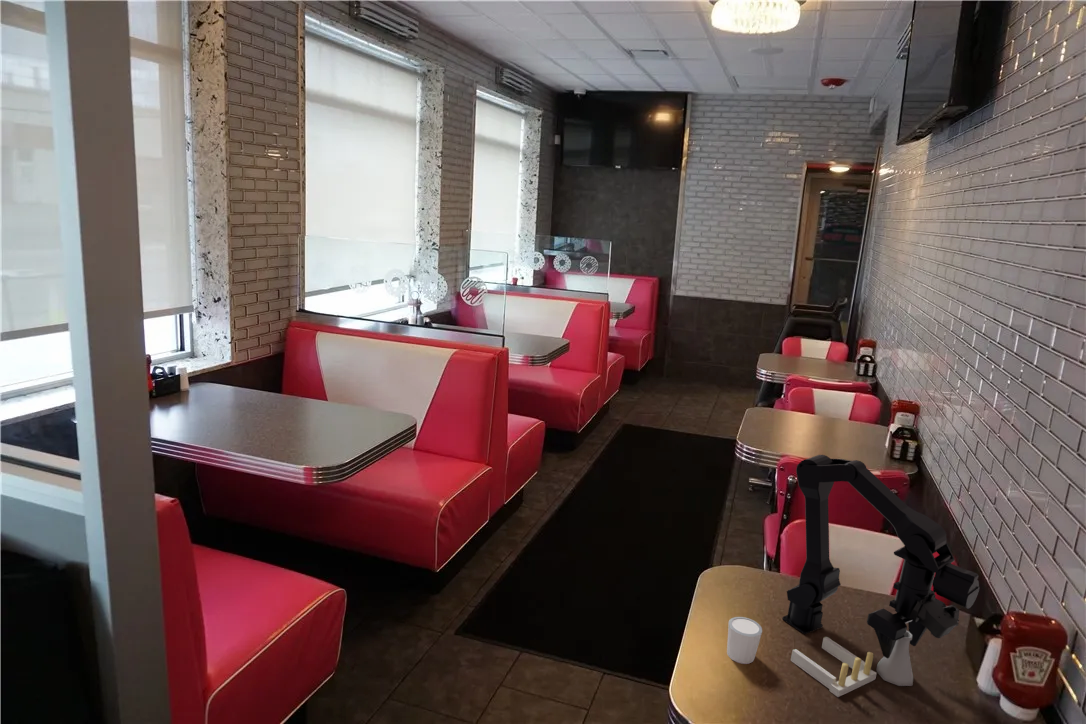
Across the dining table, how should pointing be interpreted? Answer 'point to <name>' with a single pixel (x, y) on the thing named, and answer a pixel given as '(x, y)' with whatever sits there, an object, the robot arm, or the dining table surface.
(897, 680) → the flask
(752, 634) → the white cup
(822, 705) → the dining table surface
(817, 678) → the wall peg rack
